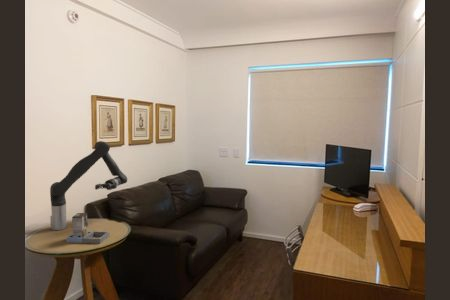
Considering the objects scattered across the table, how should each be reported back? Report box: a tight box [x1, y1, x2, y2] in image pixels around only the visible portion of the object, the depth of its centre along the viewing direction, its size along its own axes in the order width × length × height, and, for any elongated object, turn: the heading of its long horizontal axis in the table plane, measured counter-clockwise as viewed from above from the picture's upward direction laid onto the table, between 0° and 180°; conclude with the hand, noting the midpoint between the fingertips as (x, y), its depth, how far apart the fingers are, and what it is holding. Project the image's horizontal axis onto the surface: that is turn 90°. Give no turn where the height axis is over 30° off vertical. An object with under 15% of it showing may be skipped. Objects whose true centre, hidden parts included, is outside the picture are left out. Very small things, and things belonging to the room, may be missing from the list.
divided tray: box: [66, 230, 110, 244], centre depth 198 cm, size 22×13×4 cm, turn 86°
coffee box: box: [71, 212, 89, 238], centre depth 198 cm, size 9×6×16 cm
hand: (101, 188), depth 215 cm, fingers open, 8 cm apart
